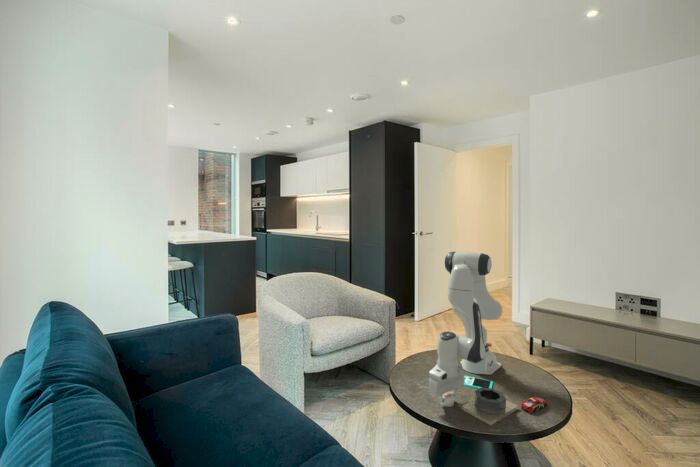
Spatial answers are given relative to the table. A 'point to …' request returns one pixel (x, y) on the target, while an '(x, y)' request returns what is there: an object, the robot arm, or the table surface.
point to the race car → (533, 404)
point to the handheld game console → (477, 382)
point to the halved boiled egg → (448, 399)
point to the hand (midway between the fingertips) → (447, 399)
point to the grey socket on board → (489, 406)
